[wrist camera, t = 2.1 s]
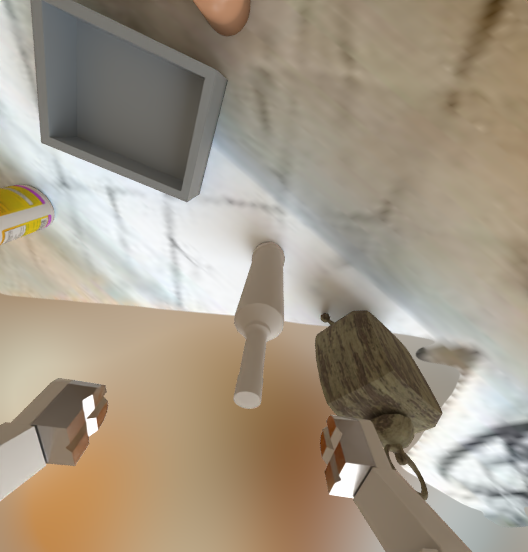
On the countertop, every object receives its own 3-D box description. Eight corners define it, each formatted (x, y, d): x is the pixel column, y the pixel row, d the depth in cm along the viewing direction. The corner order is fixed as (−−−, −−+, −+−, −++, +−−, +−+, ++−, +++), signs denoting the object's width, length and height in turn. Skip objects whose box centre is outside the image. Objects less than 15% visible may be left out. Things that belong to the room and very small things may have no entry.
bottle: (291, 254, 39) (297, 401, 17) (270, 275, 41) (252, 428, 20) (266, 233, 38) (240, 365, 16) (246, 256, 40) (199, 399, 18)
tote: (71, 5, 26) (28, -21, 22) (227, 80, 29) (217, 70, 24) (73, 141, 33) (41, 142, 29) (199, 193, 35) (187, 202, 31)
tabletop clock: (310, 313, 45) (331, 480, 23) (351, 284, 41) (422, 450, 19) (358, 355, 49) (415, 529, 27) (400, 332, 45) (503, 513, 24)
